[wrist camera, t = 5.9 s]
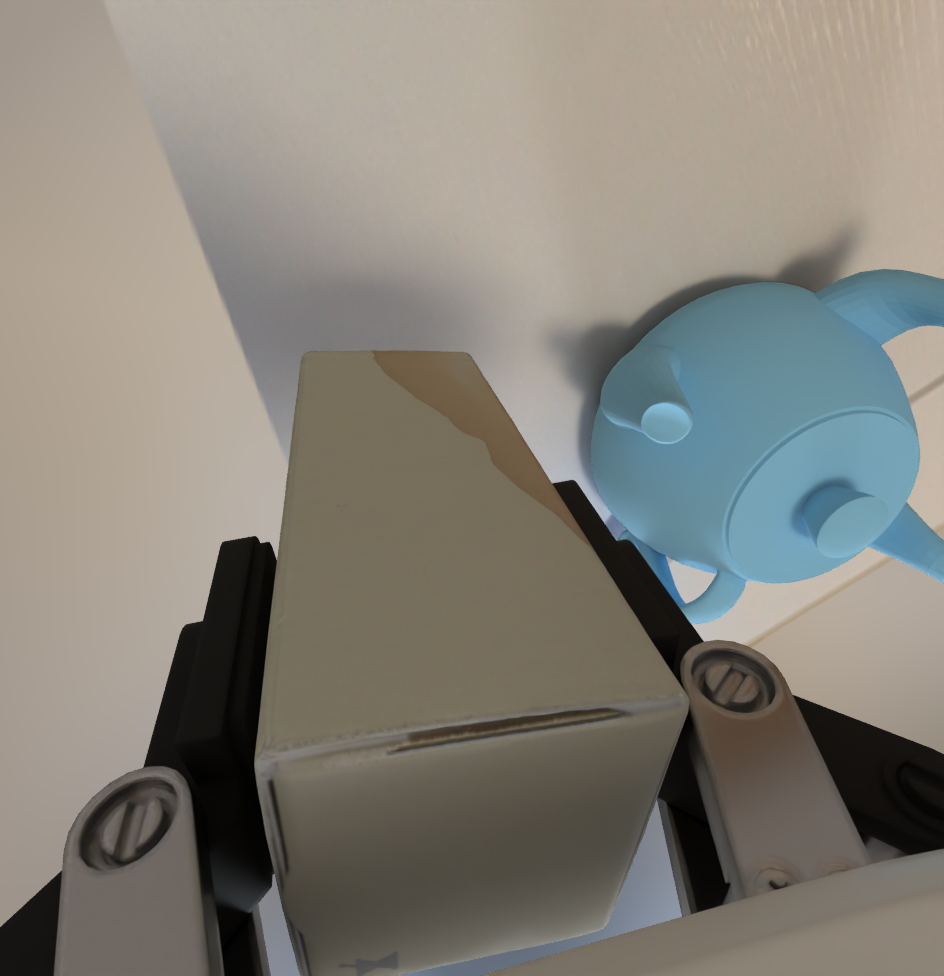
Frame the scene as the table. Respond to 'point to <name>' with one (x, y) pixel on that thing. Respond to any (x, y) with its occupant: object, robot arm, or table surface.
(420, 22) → the table surface
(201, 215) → the table surface
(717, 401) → the teapot
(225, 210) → the table surface
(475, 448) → the box
